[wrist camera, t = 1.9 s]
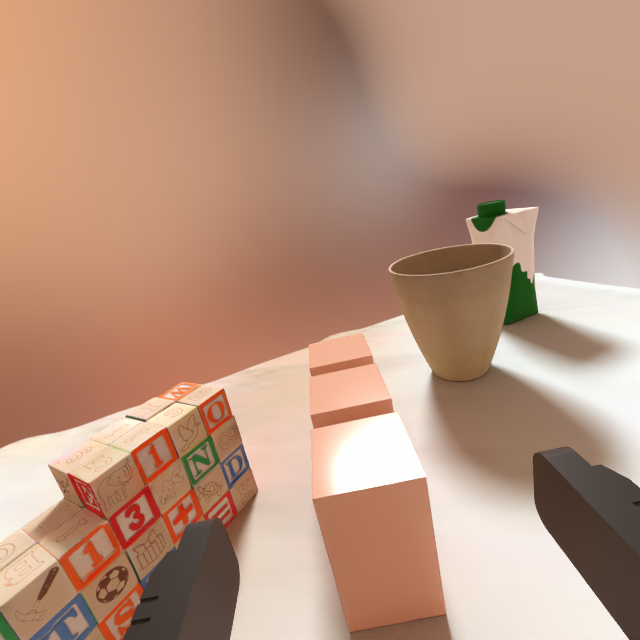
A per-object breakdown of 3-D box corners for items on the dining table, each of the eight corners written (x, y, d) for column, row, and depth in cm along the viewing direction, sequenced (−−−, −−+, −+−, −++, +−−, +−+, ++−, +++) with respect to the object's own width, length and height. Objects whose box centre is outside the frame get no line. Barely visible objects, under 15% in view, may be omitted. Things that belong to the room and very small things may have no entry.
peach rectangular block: (332, 459, 38) (309, 368, 34) (328, 425, 43) (309, 344, 40) (389, 448, 37) (372, 355, 34) (377, 414, 43) (362, 333, 40)
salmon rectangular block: (338, 524, 30) (310, 415, 27) (333, 471, 36) (309, 377, 32) (410, 509, 30) (391, 398, 26) (393, 459, 36) (375, 363, 32)
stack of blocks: (9, 782, 19) (-126, 636, 15) (-25, 712, 23) (-142, 579, 19) (259, 490, 36) (224, 384, 32) (218, 475, 39) (181, 378, 36)
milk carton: (468, 317, 66) (459, 207, 60) (504, 303, 69) (499, 196, 62) (508, 328, 58) (502, 203, 52) (547, 311, 61) (546, 191, 54)
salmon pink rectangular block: (349, 632, 22) (312, 499, 19) (340, 543, 28) (310, 429, 25) (446, 614, 22) (425, 476, 19) (416, 528, 28) (397, 411, 25)
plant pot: (432, 341, 59) (421, 247, 55) (532, 352, 49) (529, 239, 44) (384, 384, 50) (365, 275, 45) (497, 410, 39) (488, 272, 34)
